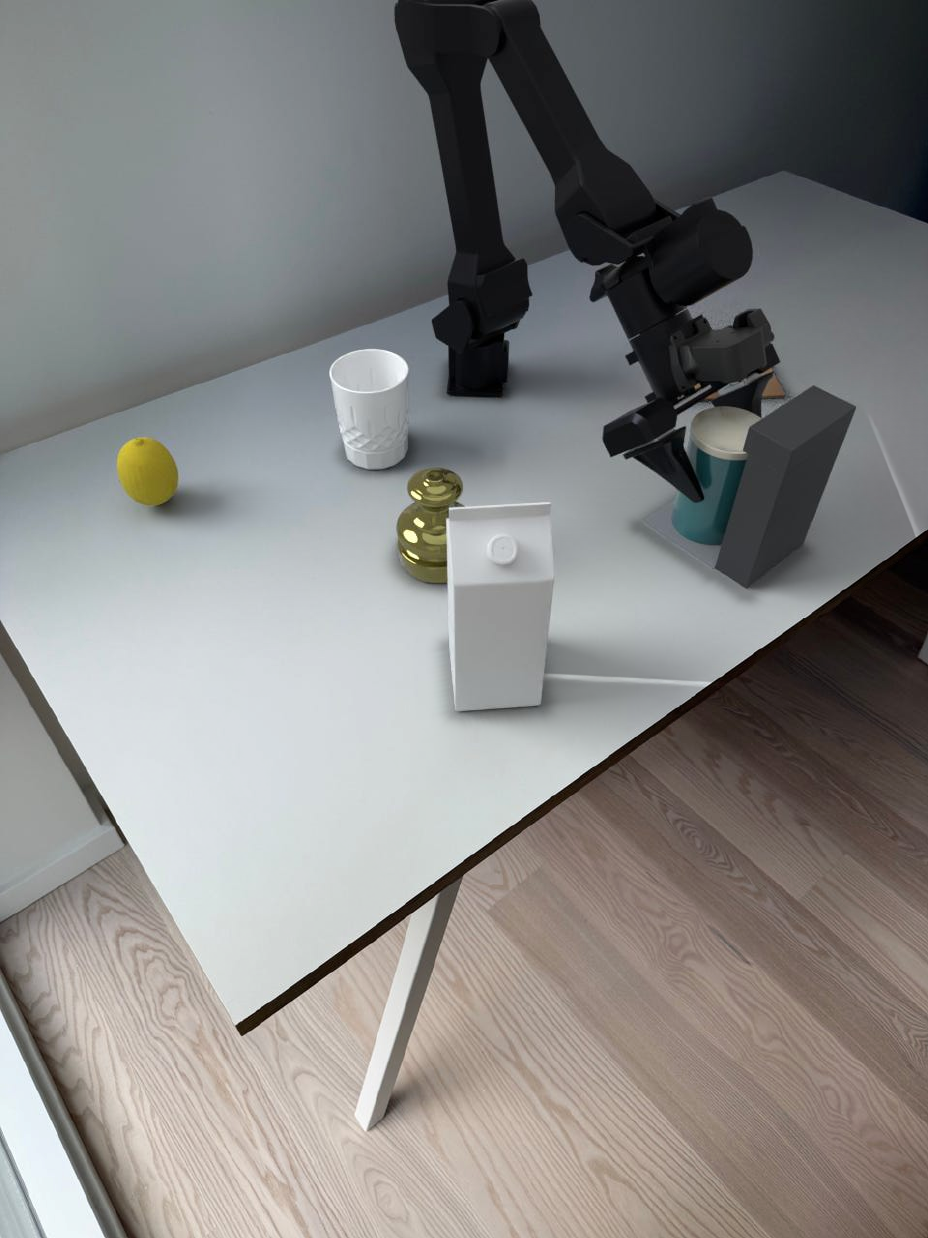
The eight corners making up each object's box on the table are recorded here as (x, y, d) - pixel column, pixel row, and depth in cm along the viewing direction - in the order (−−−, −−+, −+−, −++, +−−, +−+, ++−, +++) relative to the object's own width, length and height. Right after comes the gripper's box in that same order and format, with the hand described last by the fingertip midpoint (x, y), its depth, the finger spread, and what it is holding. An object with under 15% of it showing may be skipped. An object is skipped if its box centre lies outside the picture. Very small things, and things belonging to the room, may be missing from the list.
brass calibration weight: (419, 595, 82) (414, 513, 75) (386, 546, 86) (378, 464, 79) (489, 569, 84) (492, 487, 77) (454, 522, 89) (453, 440, 81)
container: (673, 544, 85) (695, 451, 77) (667, 496, 90) (687, 404, 82) (747, 547, 85) (777, 455, 77) (737, 499, 90) (764, 407, 82)
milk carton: (448, 646, 78) (445, 475, 64) (529, 641, 78) (543, 470, 64) (455, 712, 73) (452, 544, 59) (541, 706, 74) (558, 537, 59)
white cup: (402, 478, 93) (397, 396, 86) (330, 468, 94) (319, 387, 87) (420, 433, 98) (416, 353, 91) (351, 425, 99) (342, 344, 92)
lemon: (196, 492, 92) (177, 428, 86) (167, 526, 88) (145, 462, 82) (149, 481, 93) (128, 417, 87) (119, 514, 89) (94, 450, 84)
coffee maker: (639, 527, 88) (668, 384, 76) (701, 485, 92) (737, 344, 80) (742, 596, 82) (790, 452, 70) (803, 548, 86) (859, 404, 74)
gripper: (647, 328, 69) (731, 508, 71) (790, 252, 77) (861, 416, 79) (565, 374, 78) (642, 531, 81) (700, 303, 87) (766, 447, 89)
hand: (730, 480), depth 82 cm, fingers open, 9 cm apart
